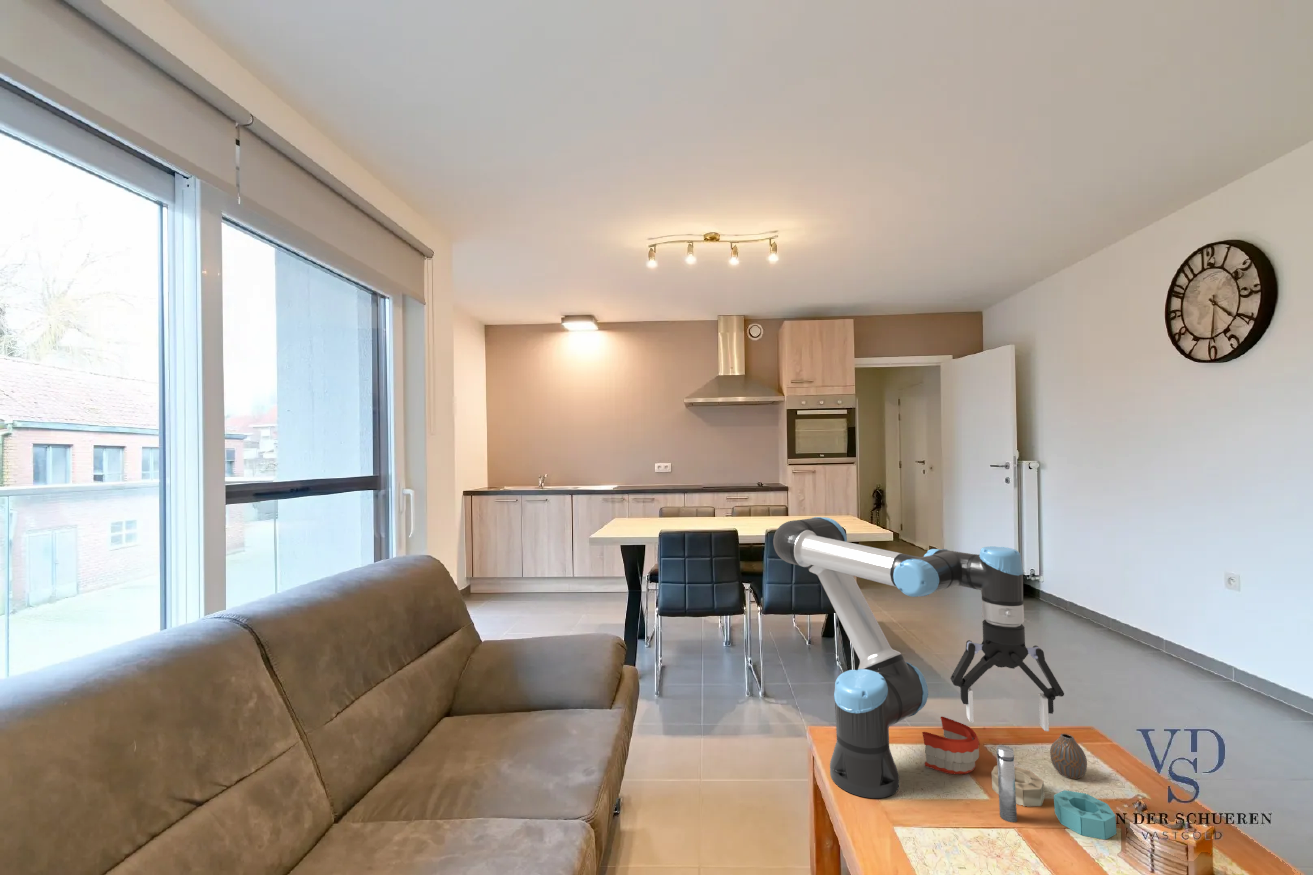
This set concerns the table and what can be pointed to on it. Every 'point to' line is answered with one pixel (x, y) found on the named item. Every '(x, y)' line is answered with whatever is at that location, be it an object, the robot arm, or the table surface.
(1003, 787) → the capped vial
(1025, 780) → the bead birch
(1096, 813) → the bead teal
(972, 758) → the toy
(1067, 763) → the vase
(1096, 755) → the table surface
